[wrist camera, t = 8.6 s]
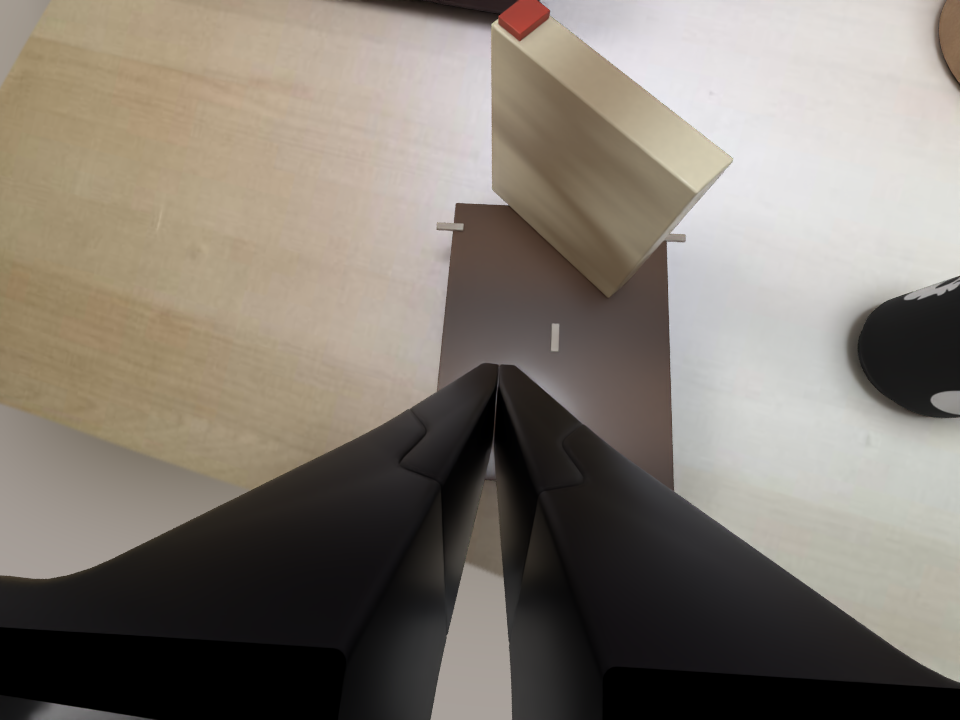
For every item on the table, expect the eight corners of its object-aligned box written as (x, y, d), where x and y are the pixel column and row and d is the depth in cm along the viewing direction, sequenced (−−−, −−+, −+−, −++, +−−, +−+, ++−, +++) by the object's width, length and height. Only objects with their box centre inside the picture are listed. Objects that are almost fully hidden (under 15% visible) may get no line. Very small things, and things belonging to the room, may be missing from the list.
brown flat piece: (663, 487, 19) (696, 498, 16) (422, 467, 20) (409, 473, 16) (655, 172, 23) (681, 130, 20) (454, 164, 23) (448, 122, 20)
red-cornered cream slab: (630, 278, 18) (741, 152, 10) (608, 299, 18) (702, 187, 10) (513, 171, 20) (526, -14, 11) (491, 189, 19) (490, 15, 11)
